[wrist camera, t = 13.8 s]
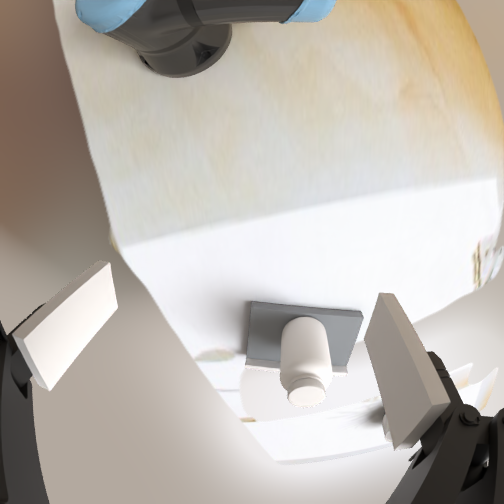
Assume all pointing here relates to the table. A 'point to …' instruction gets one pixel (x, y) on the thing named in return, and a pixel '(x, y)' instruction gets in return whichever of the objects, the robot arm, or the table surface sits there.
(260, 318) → the shelf
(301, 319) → the pill bottle
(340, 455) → the table surface
